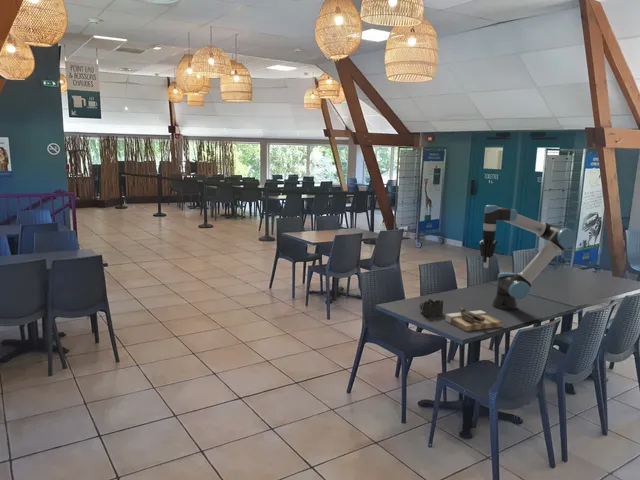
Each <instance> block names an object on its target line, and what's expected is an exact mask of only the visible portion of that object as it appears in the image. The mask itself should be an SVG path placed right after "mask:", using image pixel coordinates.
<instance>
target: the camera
mask: <svg viewBox="0 0 640 480" xmlns="http://www.w3.org/2000/svg"><path fill="white" fill-rule="evenodd" d="M419 309H420V311H422V316H423V317H426V318H430V317H435V316H441V315H443V312H444V300H443V299H440V298H438V299H432V298H429V299H427V300H426V301H422V302H421V303H420V305H419Z"/></svg>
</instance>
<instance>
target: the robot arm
mask: <svg viewBox="0 0 640 480" xmlns="http://www.w3.org/2000/svg"><path fill="white" fill-rule="evenodd" d="M497 222H505V223H508V224H510V225H513V226H514V227H517V228H521V229H523V230H526V231H529V232H531V233H533V234H535V235H536V236H537V237H539V238H542V239H543V240H545V243H546V244H545V245H544V246H543V247H542V248H541V250H540V251H538V253H537V254H535V256H534V257H533V258H532V259H531V260H530V261H529V263H528V264H527V265H526V266H525V267H524V268H523V270H522V271H521V272H517V273H516V272H509V271H508V272H507V271H505V272H504V271H503V272H501V271H500V272H499V273H498V275H497V281H496V282H497V284H496V285H497V286H496V294H495V297H494V300H492V307H494V308H496V309H500V310H507V311H513V310H516V309H517V307H518V304H517V300H523V299H525V298H527V297H528V295H529V294H530V292H531V291H530V290H531V287H532V286H533V281H534V280H535V279H536V277H538V276H539V275H540V273H541V272H542V271H543V270H544V269H545V268H546V267H547V265H549V263H551V261H552V260H553V259H554V258H555V256H557V255H558V254H559V253H563V252H564V251H565V250H566V249H569V248H570V249H571V247H572V246H574V244H575V243H576V239H577V238H576V234H575V232H574V231H573V230H572V229H570V228H568V227H564V226H561V225H560V226H559V225H555V224H550V223H546V222H544V221H543V222H540V221H538V220H535V219H532V218H529V217H527V216H524V215H522V214H519V213H518V212H517V210H516V209H514V208H505V207H501V206H499V205H495V204H494V205H493V204H486V205H485V206H484V212H483V225H482V226H483V227H482V229H483V230H482V238H481V240H480V241H478V244H479V251H480V256H481V257H482V258H483V261H482V262H483V268H485V269H489V263H490V262H491V261H490V260H491V258H492V257H493V256H494V253H495V251H496V250H495V249H496V246H497V244H498V240H496V239H495V238H496V230H497Z"/></svg>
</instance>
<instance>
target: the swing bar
mask: <svg viewBox="0 0 640 480" xmlns="http://www.w3.org/2000/svg"><path fill="white" fill-rule="evenodd" d="M466 309H467V308H465V307H459V311H460V312H461V311H462V314H463V313H467V314H469V315H471V316H473V317H474V319H475V320H477V321H479V322H484V321H485V318H483V317H481V316H479V315H476V314H474V313H471V312H469V311H470V310H466Z"/></svg>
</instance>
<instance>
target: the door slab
mask: <svg viewBox="0 0 640 480" xmlns="http://www.w3.org/2000/svg"><path fill="white" fill-rule="evenodd" d="M479 316H481V317H483V318H485V321H484V322H479V321H477V320H475V319H474V323H469V322H467V321H465V320H463V319H462V317H458V318H451V323H450V324H452V325H453V326H456V327H458V328H459V329H461V330H463V331H465V332H470V331H477V330H478V331H479V330H484V329H492V328H500V327H503V320H500V319H498V318H496V317H493V316H491V315H489V314H487V313H486V314H484V315H479Z"/></svg>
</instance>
